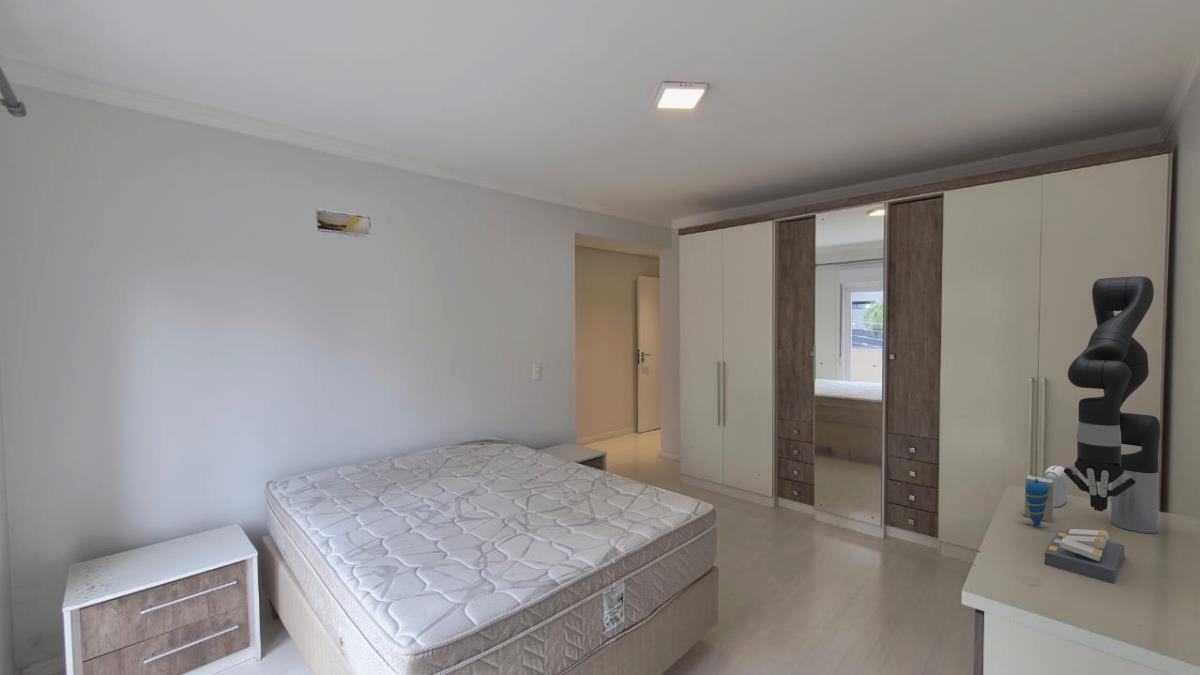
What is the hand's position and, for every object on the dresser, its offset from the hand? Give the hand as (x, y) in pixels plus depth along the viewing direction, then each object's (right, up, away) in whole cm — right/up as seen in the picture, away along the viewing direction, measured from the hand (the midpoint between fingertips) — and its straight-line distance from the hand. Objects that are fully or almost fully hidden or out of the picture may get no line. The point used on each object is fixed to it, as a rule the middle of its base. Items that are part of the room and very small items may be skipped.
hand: (1098, 509), depth 119 cm
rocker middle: (0, -9, +3) cm, 10 cm away
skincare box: (+12, -13, +30) cm, 35 cm away
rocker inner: (+5, -9, +7) cm, 12 cm away
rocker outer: (-5, -9, 0) cm, 11 cm away
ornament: (+6, -14, +23) cm, 28 cm away
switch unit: (0, -14, +3) cm, 14 cm away
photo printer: (+28, -13, +41) cm, 51 cm away
